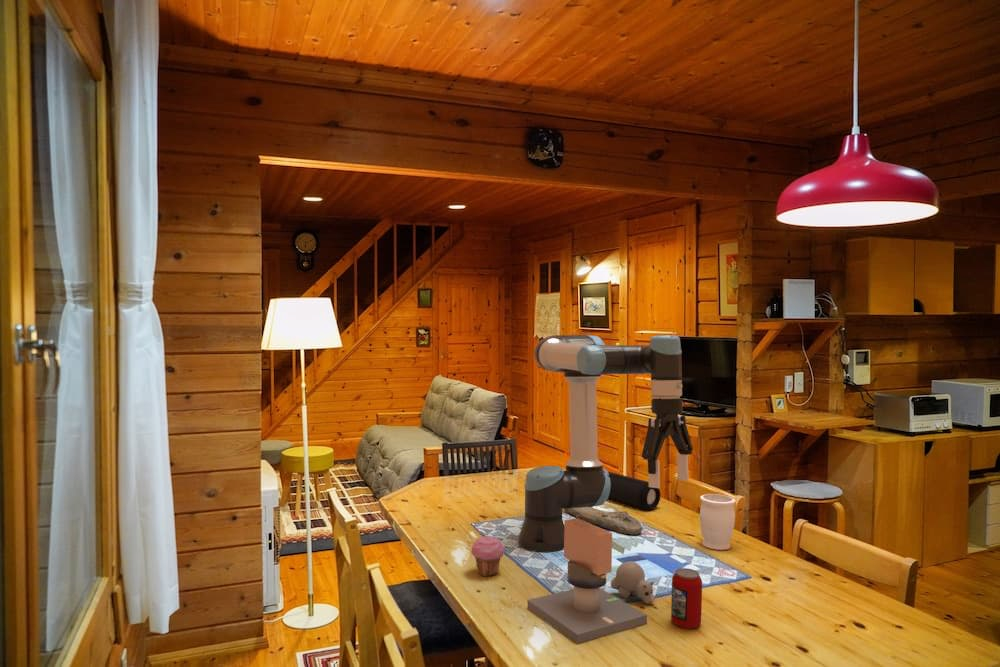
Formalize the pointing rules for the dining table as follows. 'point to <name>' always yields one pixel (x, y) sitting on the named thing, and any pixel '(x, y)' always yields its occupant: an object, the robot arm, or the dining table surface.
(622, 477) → the portable speaker
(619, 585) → the chubby cartoon animal
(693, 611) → the beverage can
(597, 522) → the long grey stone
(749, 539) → the dining table surface
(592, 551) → the coupling
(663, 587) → the dining table surface
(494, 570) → the cupcake
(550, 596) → the coupling base
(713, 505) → the jar
